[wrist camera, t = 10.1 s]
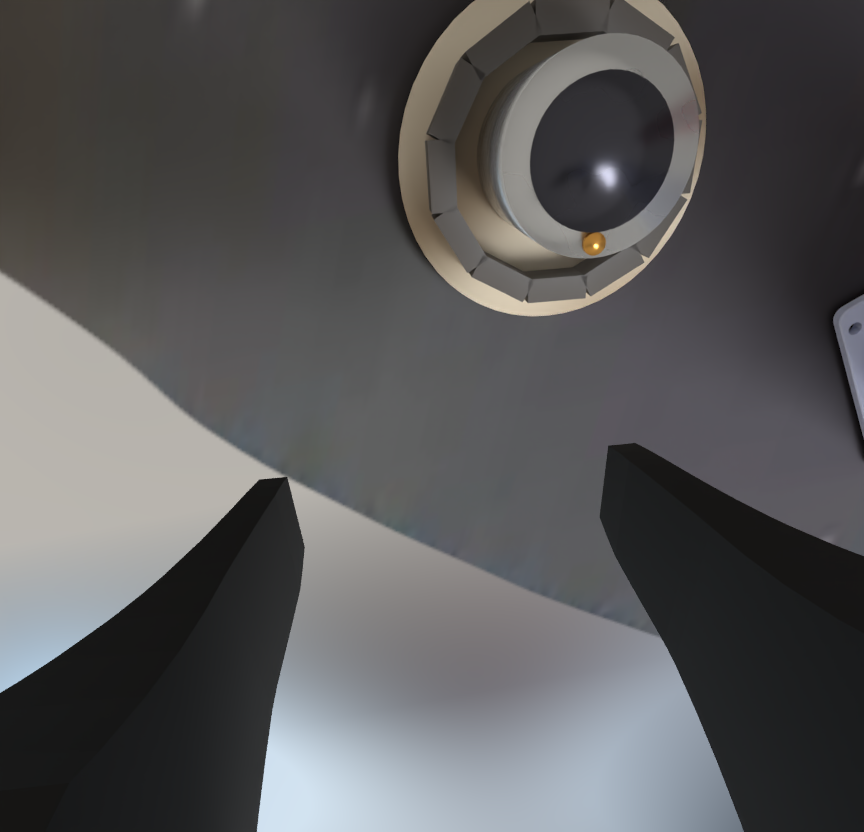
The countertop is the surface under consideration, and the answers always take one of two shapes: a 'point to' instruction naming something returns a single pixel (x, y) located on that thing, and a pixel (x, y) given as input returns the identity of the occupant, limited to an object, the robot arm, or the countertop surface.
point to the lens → (590, 145)
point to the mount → (458, 140)
